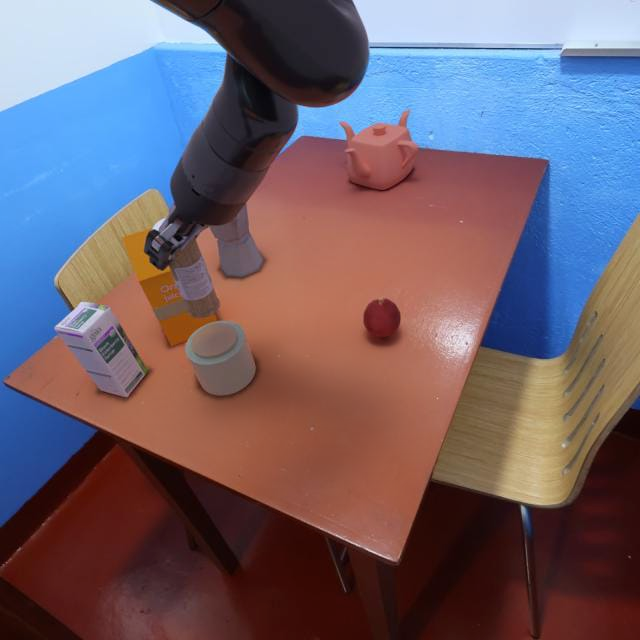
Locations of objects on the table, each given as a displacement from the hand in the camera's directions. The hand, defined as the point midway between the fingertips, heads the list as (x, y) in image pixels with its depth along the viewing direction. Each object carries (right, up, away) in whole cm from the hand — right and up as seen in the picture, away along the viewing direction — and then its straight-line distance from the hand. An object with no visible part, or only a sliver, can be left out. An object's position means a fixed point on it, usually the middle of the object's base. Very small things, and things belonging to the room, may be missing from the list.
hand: (170, 251), depth 59 cm
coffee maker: (+2, +3, +38) cm, 38 cm away
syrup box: (-13, -19, +17) cm, 28 cm away
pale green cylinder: (+4, -17, +16) cm, 23 cm away
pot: (+33, +27, +57) cm, 71 cm away
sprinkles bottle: (+3, -7, +6) cm, 9 cm away
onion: (+29, -11, +17) cm, 35 cm away
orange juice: (-4, -9, +25) cm, 27 cm away
